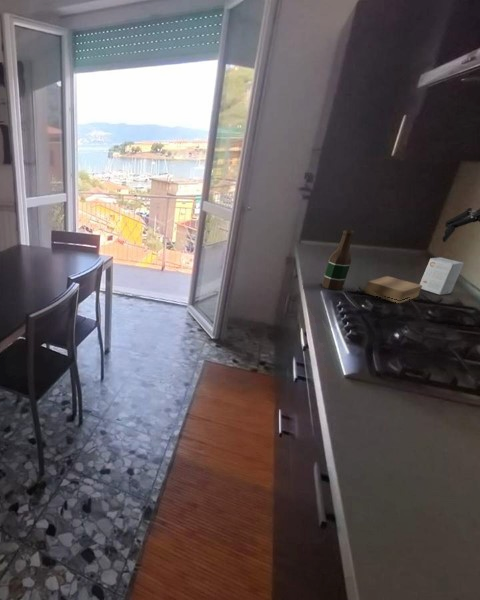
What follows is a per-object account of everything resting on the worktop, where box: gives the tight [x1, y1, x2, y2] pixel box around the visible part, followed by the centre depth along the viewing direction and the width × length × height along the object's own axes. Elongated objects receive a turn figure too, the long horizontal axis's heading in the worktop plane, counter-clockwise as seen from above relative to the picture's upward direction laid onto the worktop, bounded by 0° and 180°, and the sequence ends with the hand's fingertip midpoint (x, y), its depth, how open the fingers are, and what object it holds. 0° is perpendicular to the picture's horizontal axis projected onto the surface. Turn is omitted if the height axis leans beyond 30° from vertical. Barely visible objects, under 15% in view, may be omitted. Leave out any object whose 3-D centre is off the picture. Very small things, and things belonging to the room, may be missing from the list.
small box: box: [419, 257, 465, 296], centre depth 144 cm, size 8×6×13 cm
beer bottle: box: [321, 229, 355, 291], centre depth 146 cm, size 8×8×24 cm
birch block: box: [363, 275, 422, 304], centre depth 142 cm, size 12×14×5 cm
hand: (465, 243), depth 143 cm, fingers open, 13 cm apart
